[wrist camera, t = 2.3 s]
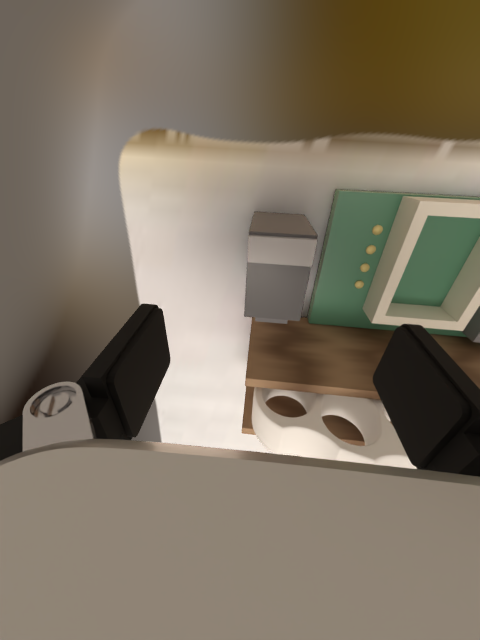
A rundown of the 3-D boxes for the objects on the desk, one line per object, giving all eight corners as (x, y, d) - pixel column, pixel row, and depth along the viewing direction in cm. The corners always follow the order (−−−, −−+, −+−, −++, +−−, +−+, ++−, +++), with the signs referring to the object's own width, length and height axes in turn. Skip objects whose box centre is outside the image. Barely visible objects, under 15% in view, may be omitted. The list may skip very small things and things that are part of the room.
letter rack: (468, 331, 24) (559, 410, 16) (435, 380, 28) (497, 462, 20) (252, 312, 25) (245, 378, 18) (248, 362, 29) (241, 433, 22)
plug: (304, 214, 20) (318, 236, 14) (291, 288, 23) (298, 330, 18) (254, 211, 20) (248, 232, 14) (249, 285, 24) (243, 325, 18)
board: (595, 202, 17) (662, 212, 14) (496, 332, 24) (529, 357, 21) (335, 189, 19) (348, 195, 16) (307, 316, 25) (312, 338, 22)
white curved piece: (258, 324, 26) (248, 470, 14) (437, 338, 25) (599, 513, 13) (256, 348, 28) (245, 497, 16) (422, 363, 27) (551, 536, 14)
